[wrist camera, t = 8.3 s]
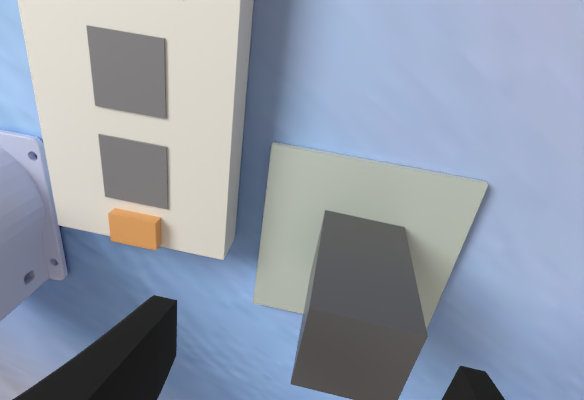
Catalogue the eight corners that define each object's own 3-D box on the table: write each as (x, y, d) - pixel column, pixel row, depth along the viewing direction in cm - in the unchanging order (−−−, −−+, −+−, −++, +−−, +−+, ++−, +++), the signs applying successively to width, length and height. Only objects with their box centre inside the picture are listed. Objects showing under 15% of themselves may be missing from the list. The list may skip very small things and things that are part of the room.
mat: (421, 334, 22) (422, 340, 22) (254, 298, 23) (253, 303, 23) (485, 181, 17) (488, 184, 17) (273, 141, 18) (271, 144, 18)
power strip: (234, 238, 21) (219, 267, 19) (82, 207, 22) (50, 231, 20) (285, -402, 11) (265, -511, 8) (-8, -425, 11) (-99, -532, 9)
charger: (383, 288, 21) (393, 409, 14) (310, 272, 21) (290, 384, 15) (404, 227, 19) (427, 335, 13) (325, 210, 19) (309, 308, 13)
